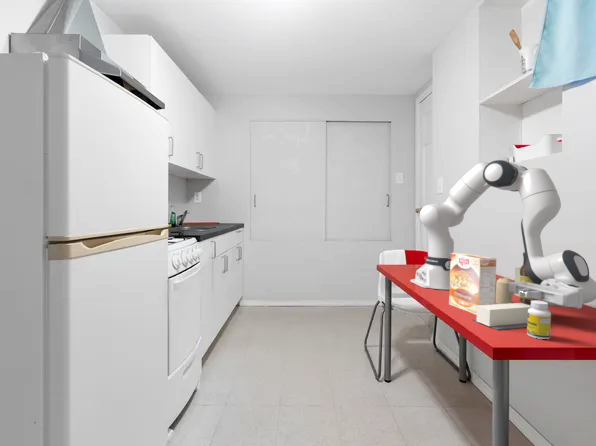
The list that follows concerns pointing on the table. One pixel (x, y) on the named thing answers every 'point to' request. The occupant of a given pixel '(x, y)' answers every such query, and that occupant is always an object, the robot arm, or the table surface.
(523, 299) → the sauce bottle
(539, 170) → the robot arm
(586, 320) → the table surface
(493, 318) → the block
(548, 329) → the supplement bottle
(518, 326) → the mat
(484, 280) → the coffeecake box
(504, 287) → the candle
